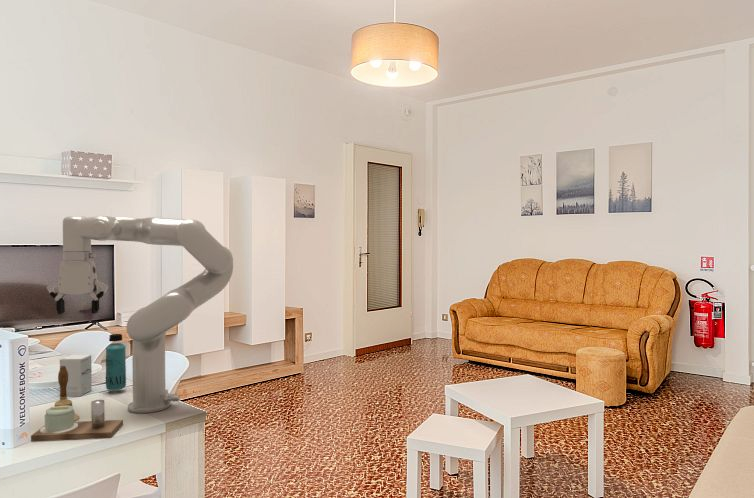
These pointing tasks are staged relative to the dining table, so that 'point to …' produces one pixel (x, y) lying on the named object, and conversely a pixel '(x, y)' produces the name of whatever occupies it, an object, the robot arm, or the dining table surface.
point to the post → (97, 414)
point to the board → (79, 431)
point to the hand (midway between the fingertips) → (78, 313)
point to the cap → (59, 418)
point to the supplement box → (78, 374)
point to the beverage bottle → (115, 364)
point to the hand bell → (64, 390)
